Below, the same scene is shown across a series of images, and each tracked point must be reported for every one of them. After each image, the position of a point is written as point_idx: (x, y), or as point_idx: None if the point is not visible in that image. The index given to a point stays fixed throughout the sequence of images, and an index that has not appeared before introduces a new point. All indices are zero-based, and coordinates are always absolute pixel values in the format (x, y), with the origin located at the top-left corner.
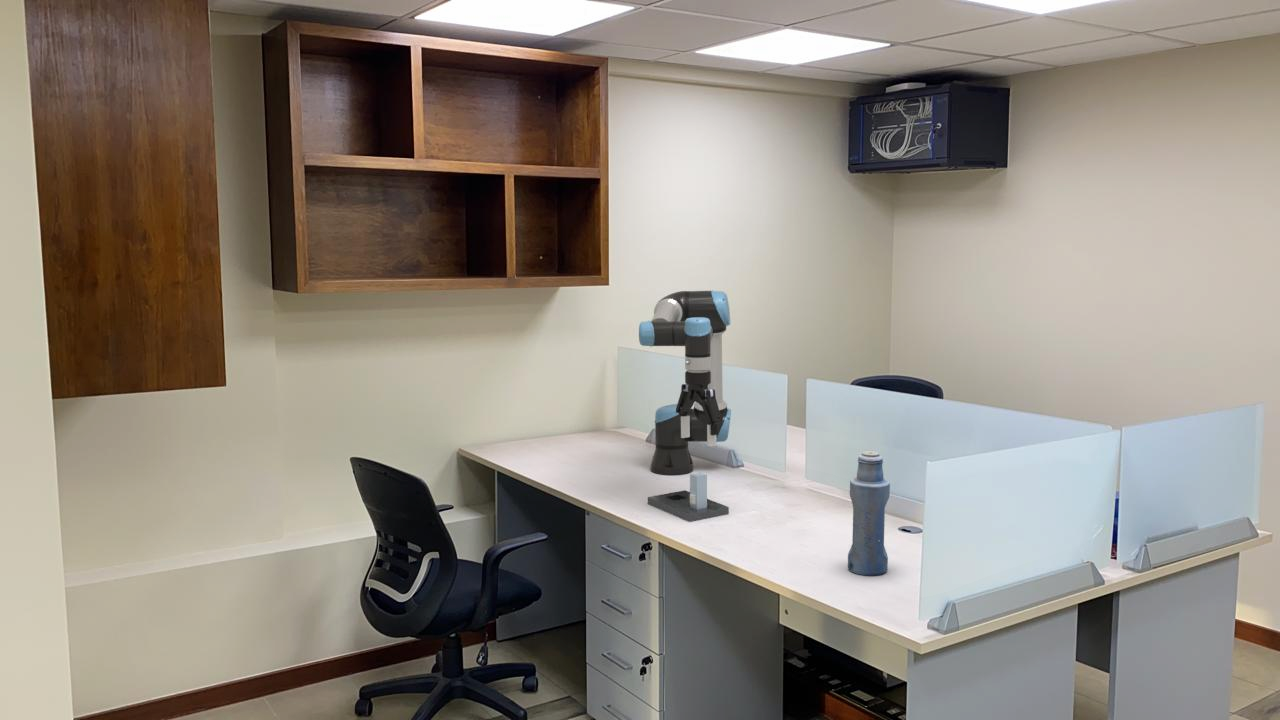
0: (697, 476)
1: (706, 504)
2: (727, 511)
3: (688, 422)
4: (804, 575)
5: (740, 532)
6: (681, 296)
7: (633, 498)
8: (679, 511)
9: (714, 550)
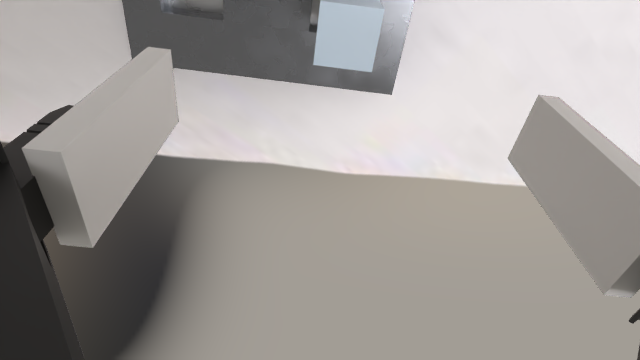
0: (372, 68)
1: None
2: None
3: (111, 125)
4: None
5: (565, 18)
6: None
7: (25, 22)
8: (332, 86)
9: None
